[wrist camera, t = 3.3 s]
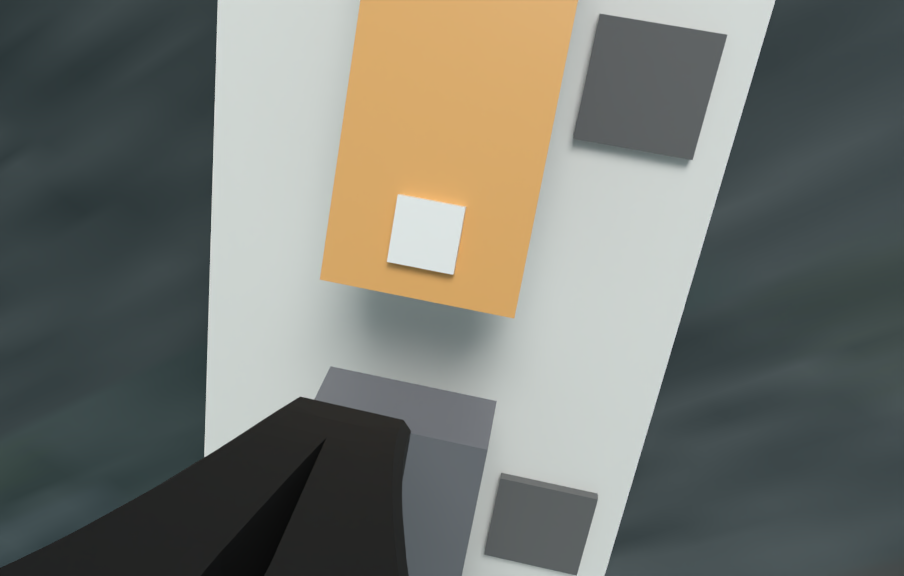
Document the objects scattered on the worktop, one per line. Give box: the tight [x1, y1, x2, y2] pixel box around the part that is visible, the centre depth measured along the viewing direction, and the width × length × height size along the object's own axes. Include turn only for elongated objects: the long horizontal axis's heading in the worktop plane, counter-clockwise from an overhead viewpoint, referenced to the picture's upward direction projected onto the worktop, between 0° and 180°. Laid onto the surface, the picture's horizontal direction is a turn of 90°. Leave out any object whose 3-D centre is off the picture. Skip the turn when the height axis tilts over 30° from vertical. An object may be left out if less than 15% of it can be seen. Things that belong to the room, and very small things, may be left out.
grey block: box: [314, 366, 497, 576], centre depth 15 cm, size 3×7×1 cm, turn 171°
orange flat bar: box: [320, 0, 578, 318], centre depth 11 cm, size 3×7×1 cm, turn 171°
